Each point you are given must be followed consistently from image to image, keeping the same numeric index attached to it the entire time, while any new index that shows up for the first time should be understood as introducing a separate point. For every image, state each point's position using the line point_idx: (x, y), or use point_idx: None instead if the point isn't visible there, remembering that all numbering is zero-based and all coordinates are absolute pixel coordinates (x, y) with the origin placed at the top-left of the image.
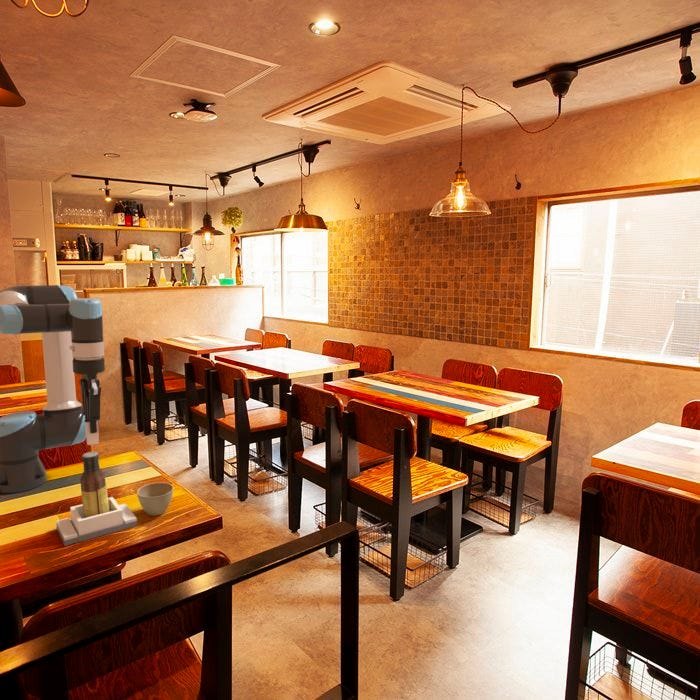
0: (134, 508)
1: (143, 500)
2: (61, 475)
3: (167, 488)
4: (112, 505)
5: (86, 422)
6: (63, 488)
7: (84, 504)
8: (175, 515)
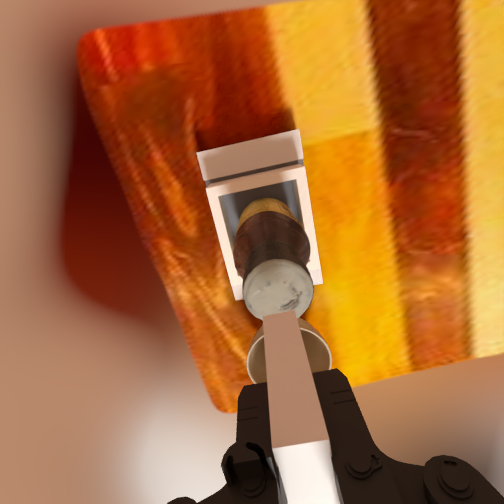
0: (322, 293)
1: (261, 331)
2: None
3: None
4: None
5: (289, 434)
6: None
7: (251, 208)
8: None
